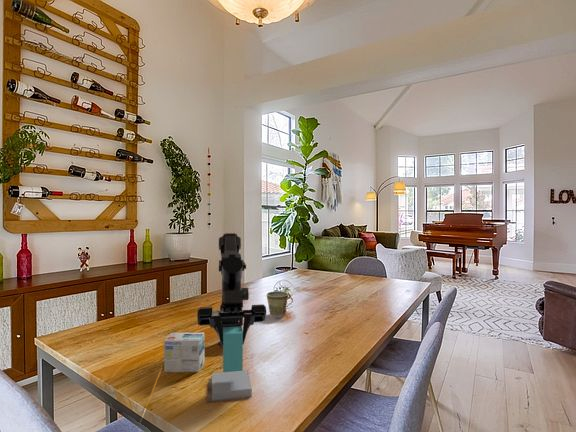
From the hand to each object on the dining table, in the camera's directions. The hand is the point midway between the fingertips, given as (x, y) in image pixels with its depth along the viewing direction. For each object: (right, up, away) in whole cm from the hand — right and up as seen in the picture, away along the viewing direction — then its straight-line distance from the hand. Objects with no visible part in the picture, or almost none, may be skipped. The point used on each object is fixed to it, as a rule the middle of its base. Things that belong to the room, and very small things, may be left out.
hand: (232, 344), depth 87 cm
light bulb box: (-17, -13, +13) cm, 25 cm away
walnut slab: (-1, -14, +2) cm, 14 cm away
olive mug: (+11, -12, +65) cm, 68 cm away
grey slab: (-1, -12, +2) cm, 12 cm away
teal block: (0, -7, +1) cm, 7 cm away
